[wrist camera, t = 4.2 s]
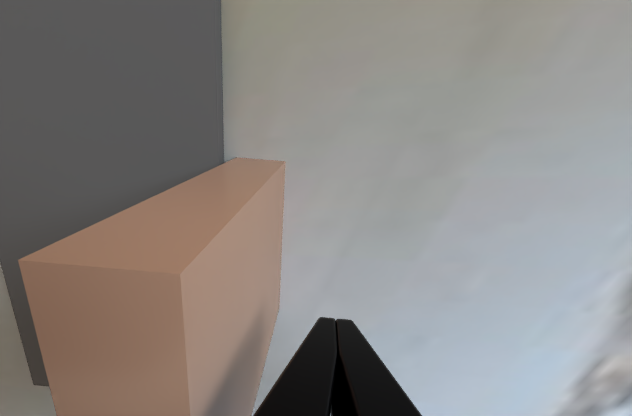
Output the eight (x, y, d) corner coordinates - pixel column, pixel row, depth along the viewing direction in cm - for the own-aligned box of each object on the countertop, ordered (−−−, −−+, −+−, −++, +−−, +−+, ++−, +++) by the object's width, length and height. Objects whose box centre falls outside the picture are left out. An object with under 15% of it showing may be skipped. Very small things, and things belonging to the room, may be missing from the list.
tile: (279, 308, 14) (203, 600, 6) (235, 304, 14) (95, 588, 6) (285, 161, 12) (180, 274, 4) (234, 157, 12) (11, 258, 4)
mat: (228, 393, 16) (224, 403, 15) (44, 375, 16) (33, 384, 16) (220, -1, 11) (214, -8, 10) (-57, -20, 11) (-79, -28, 10)
